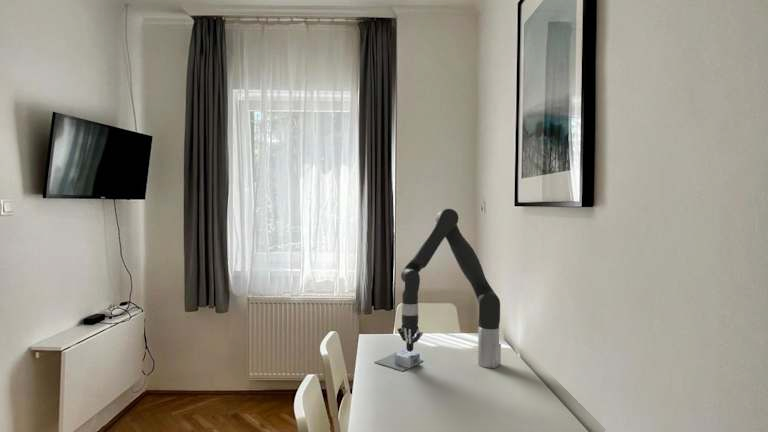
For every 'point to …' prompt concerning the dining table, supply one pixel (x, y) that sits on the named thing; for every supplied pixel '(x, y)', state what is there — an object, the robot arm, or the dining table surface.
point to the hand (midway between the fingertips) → (409, 350)
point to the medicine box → (407, 359)
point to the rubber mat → (392, 363)
